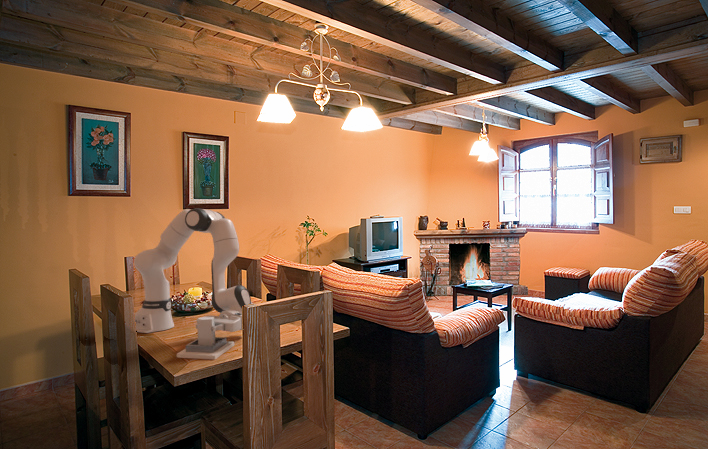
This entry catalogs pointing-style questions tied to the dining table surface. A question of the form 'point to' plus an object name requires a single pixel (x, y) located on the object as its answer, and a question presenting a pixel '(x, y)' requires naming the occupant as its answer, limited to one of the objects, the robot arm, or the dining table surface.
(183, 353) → the collar board
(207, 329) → the skincare box
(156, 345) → the dining table surface
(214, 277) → the robot arm
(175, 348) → the dining table surface
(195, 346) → the collar
